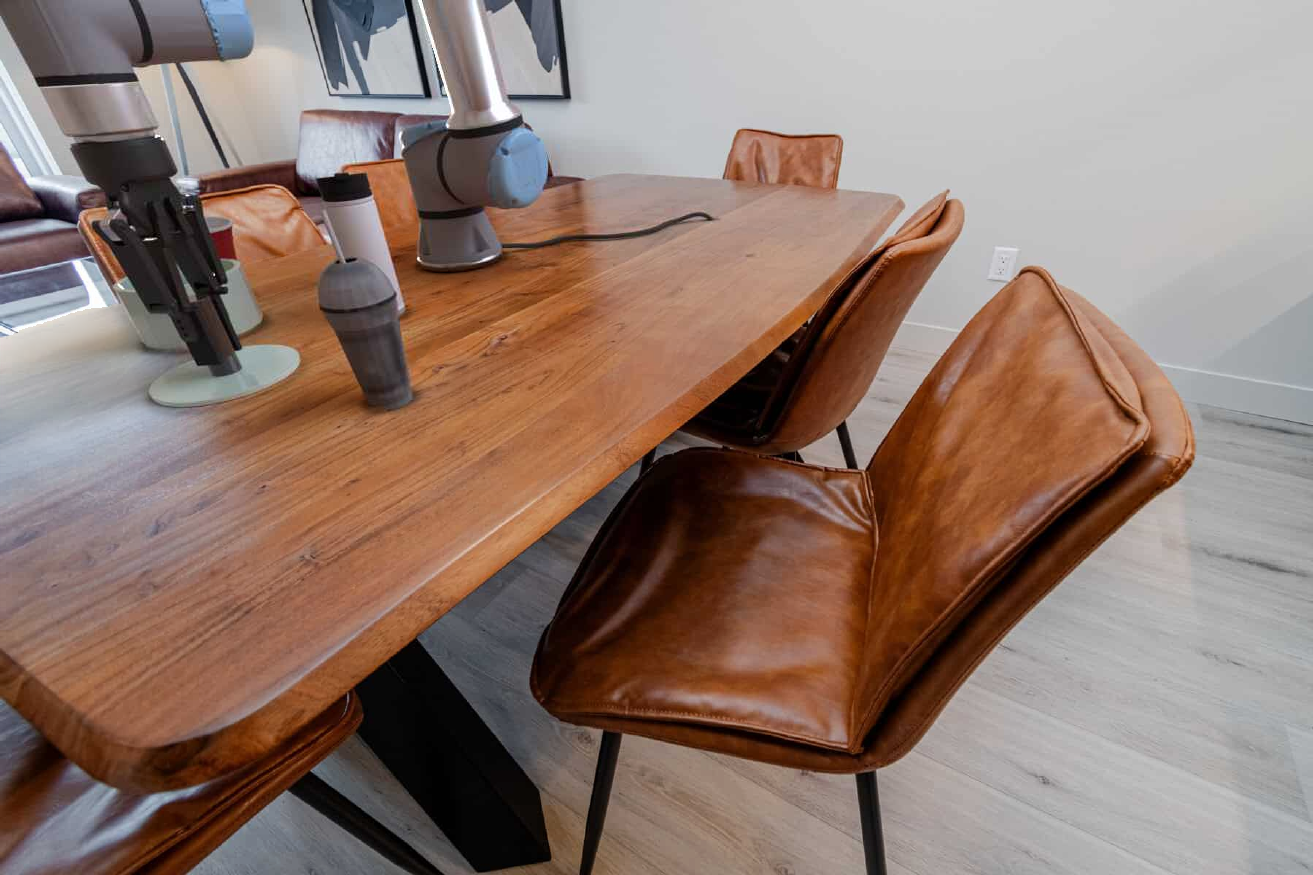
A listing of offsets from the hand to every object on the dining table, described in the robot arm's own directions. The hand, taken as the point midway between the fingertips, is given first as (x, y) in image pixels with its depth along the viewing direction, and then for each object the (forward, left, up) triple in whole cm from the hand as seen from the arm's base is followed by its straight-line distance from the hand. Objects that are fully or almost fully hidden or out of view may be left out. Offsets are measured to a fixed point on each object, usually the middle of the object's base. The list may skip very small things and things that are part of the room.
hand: (220, 356), depth 71 cm
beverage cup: (-22, +8, -3) cm, 24 cm away
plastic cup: (+20, -34, -3) cm, 40 cm away
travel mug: (-12, -19, -3) cm, 23 cm away
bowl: (+13, -17, -3) cm, 22 cm away
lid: (0, 0, -2) cm, 2 cm away
